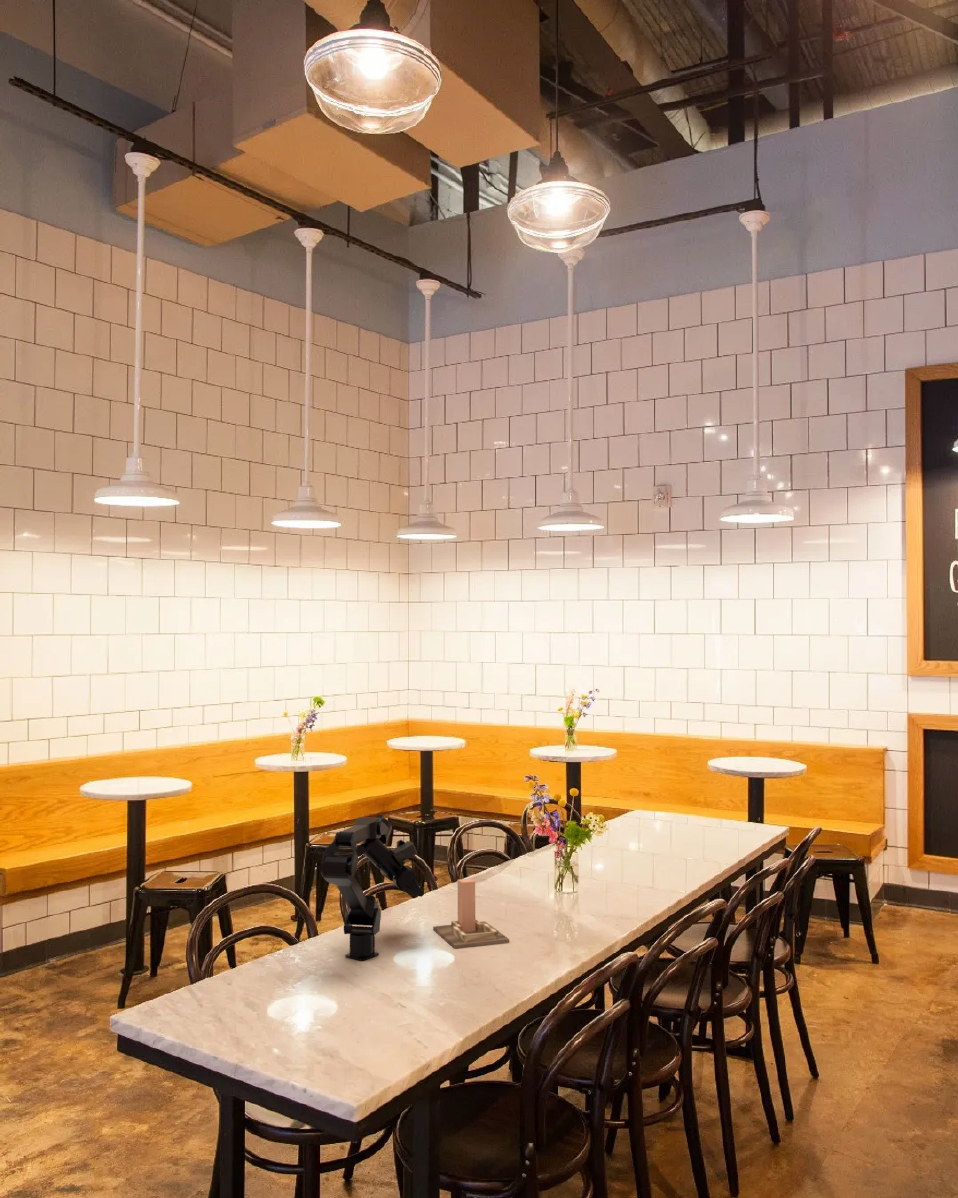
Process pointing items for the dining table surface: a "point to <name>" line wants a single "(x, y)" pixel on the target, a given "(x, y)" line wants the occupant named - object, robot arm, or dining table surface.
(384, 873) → the robot arm
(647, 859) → the dining table surface
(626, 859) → the dining table surface
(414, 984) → the dining table surface
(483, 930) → the square socket board
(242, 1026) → the dining table surface
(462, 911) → the terracotta post
